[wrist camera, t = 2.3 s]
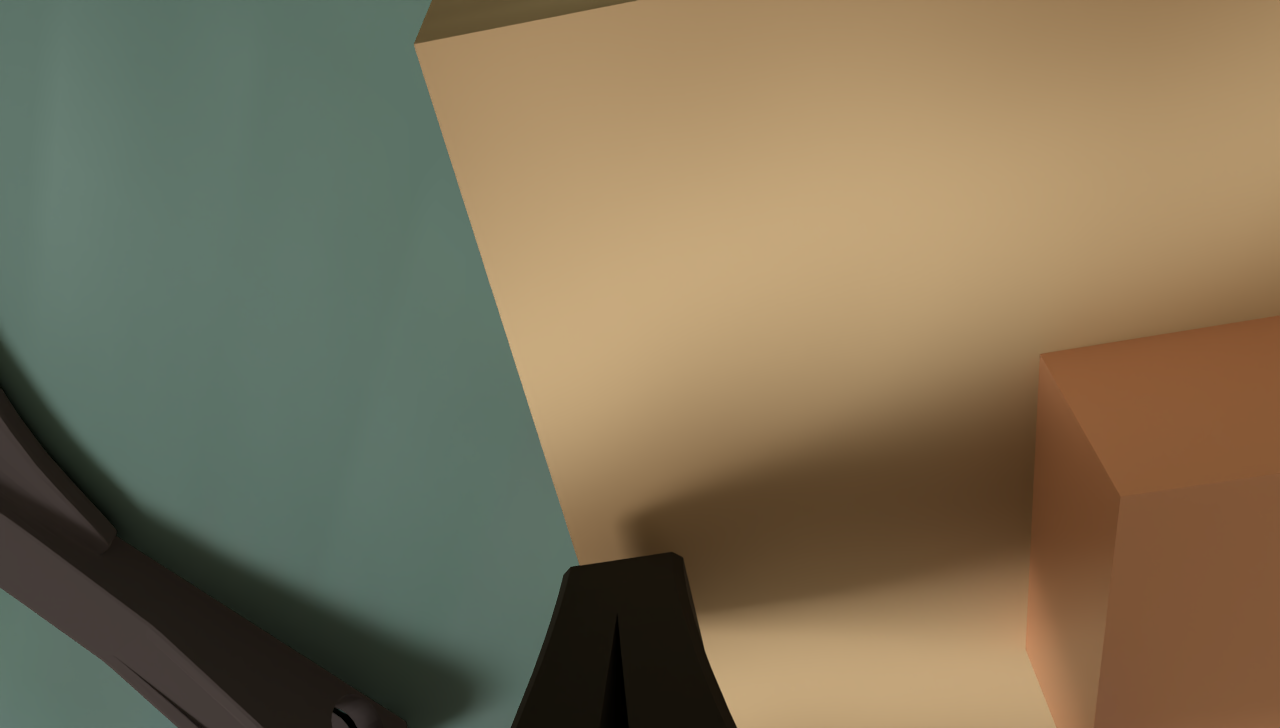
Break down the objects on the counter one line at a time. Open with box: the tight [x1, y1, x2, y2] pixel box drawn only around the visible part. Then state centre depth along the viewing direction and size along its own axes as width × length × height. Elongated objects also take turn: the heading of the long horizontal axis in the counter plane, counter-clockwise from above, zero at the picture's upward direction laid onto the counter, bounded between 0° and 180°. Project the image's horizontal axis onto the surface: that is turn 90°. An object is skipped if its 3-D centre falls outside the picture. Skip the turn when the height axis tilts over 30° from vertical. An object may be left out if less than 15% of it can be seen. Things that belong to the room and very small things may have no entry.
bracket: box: [0, 387, 407, 728], centre depth 15 cm, size 14×15×3 cm
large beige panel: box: [414, 0, 1280, 728], centre depth 14 cm, size 14×12×2 cm
